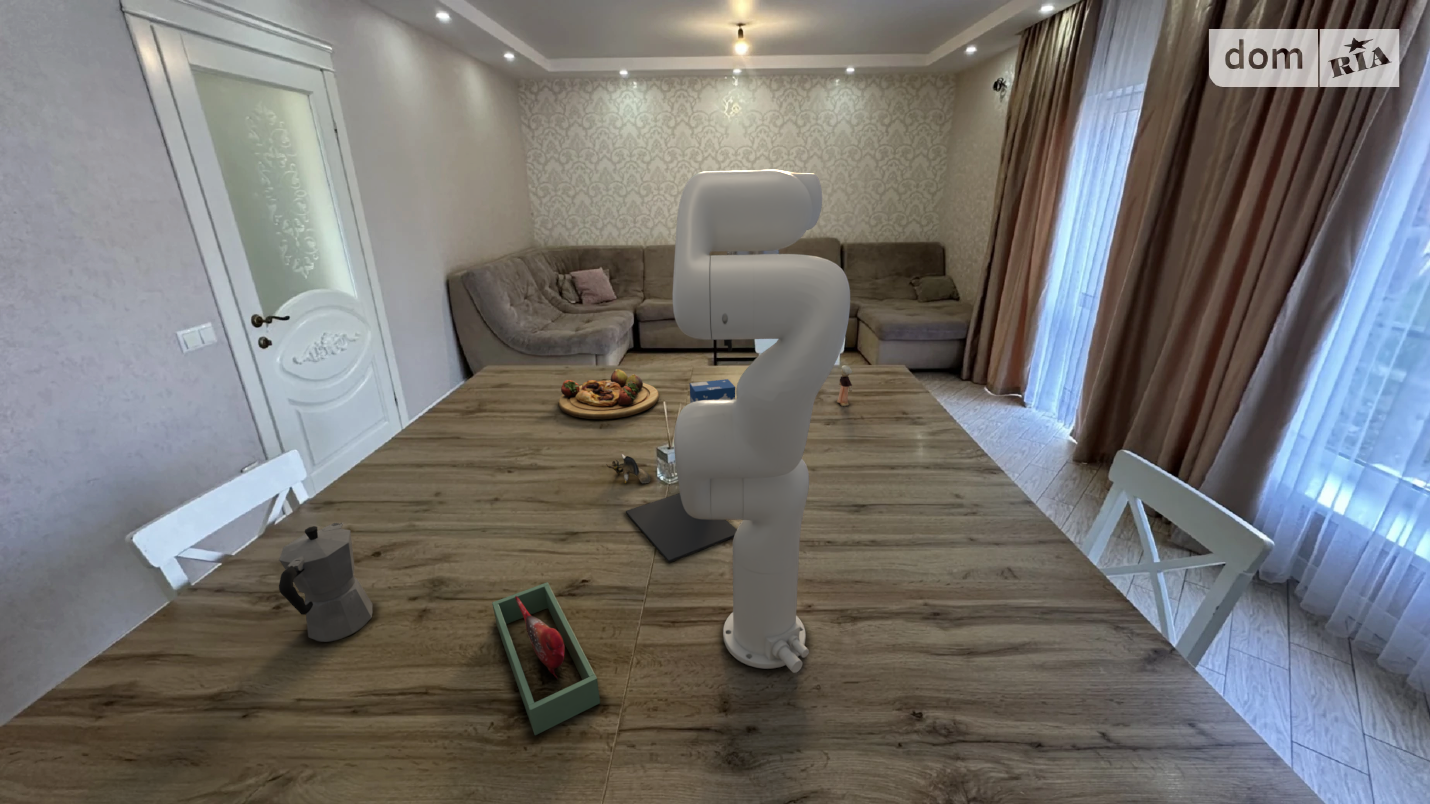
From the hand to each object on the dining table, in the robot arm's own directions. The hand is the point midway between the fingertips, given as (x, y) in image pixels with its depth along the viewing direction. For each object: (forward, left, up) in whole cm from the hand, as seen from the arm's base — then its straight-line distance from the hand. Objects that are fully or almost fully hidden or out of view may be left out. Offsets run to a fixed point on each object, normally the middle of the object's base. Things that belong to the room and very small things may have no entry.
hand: (756, 349), depth 101 cm
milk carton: (+28, -8, -37) cm, 47 cm away
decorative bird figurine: (-13, +47, -37) cm, 61 cm away
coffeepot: (+12, +73, -37) cm, 83 cm away
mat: (+7, +13, -37) cm, 40 cm away
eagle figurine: (+30, +14, -37) cm, 50 cm away
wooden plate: (+81, -1, -37) cm, 89 cm away
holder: (-13, +47, -37) cm, 61 cm away
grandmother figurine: (+37, -62, -37) cm, 81 cm away
